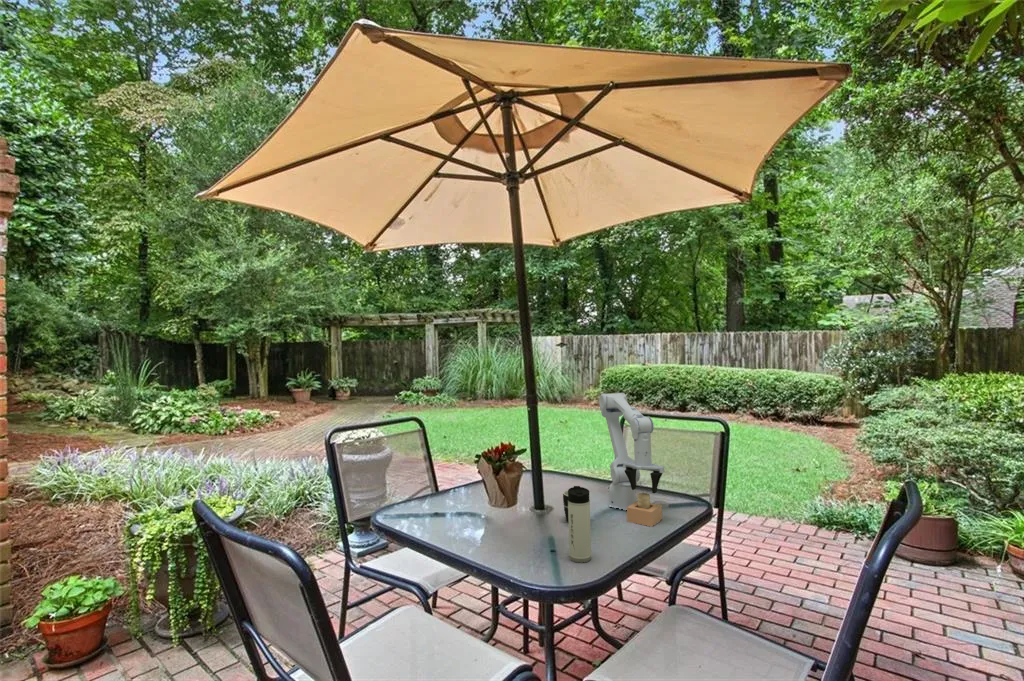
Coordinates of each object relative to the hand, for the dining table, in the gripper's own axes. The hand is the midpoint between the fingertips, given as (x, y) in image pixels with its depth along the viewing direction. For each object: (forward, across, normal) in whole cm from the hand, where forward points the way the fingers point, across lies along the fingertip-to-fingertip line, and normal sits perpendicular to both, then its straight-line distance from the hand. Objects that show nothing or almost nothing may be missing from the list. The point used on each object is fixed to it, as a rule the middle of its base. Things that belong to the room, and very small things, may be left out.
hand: (644, 490), depth 171 cm
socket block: (+10, 0, 0) cm, 10 cm away
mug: (+11, -18, -15) cm, 26 cm away
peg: (+9, 0, 0) cm, 9 cm away
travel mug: (+11, -3, -39) cm, 41 cm away
